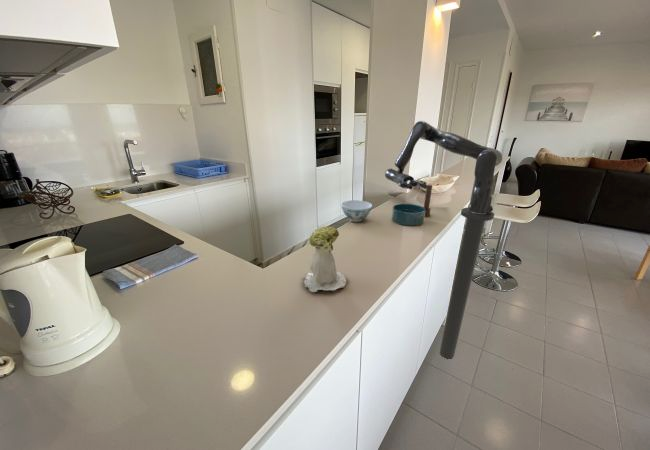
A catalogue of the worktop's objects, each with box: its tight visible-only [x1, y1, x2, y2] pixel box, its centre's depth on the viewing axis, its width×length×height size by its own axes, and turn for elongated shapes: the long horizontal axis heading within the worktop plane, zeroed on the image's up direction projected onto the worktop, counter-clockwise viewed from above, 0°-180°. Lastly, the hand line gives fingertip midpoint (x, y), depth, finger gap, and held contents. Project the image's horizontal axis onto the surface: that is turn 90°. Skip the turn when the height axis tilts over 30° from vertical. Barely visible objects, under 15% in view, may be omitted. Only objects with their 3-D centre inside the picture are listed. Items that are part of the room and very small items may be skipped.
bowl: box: [391, 203, 426, 227], centre depth 136 cm, size 15×15×6 cm
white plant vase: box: [303, 226, 347, 293], centre depth 82 cm, size 12×13×18 cm
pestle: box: [422, 184, 433, 218], centre depth 142 cm, size 4×4×16 cm
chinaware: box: [340, 199, 373, 223], centre depth 137 cm, size 15×15×8 cm
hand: (419, 187), depth 149 cm, fingers open, 8 cm apart
